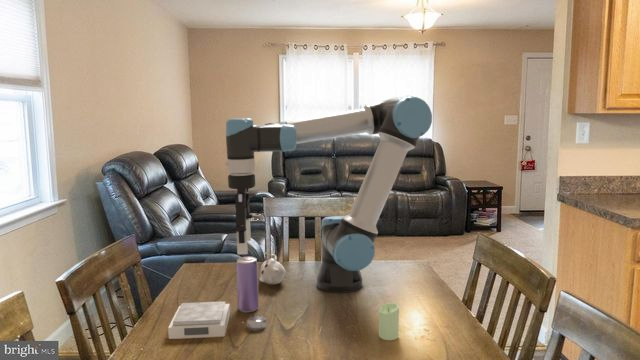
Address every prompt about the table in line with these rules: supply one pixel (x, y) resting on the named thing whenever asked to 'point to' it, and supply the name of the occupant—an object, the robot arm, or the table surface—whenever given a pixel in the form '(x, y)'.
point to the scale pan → (199, 313)
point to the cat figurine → (272, 271)
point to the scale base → (200, 328)
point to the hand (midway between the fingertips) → (244, 247)
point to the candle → (389, 321)
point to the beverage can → (247, 284)
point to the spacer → (256, 323)
